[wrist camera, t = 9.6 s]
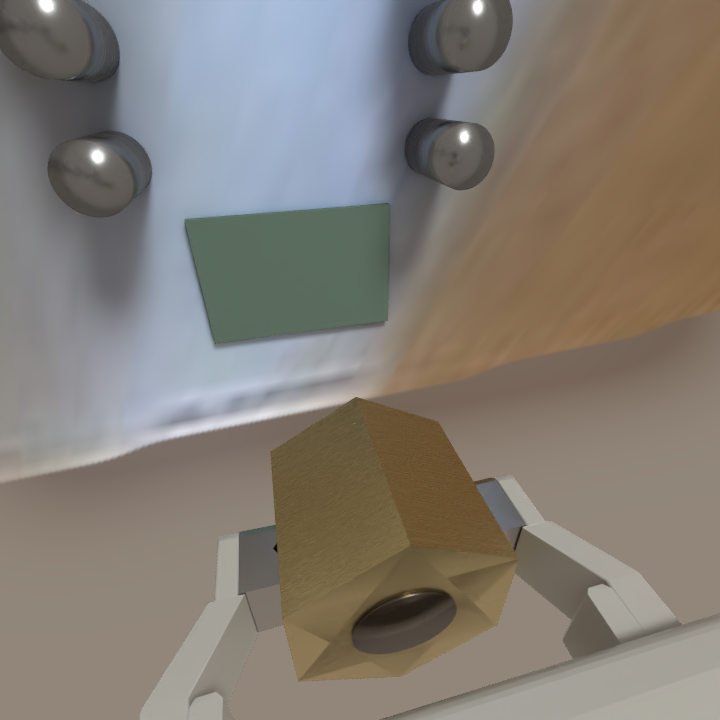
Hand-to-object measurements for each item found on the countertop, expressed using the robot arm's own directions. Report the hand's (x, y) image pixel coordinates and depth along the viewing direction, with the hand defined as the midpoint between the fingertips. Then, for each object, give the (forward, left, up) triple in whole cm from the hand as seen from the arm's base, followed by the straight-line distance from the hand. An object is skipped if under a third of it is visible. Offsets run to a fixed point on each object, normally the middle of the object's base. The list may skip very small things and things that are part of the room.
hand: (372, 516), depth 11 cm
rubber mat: (0, 0, -19) cm, 19 cm away
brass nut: (0, 0, -2) cm, 2 cm away
